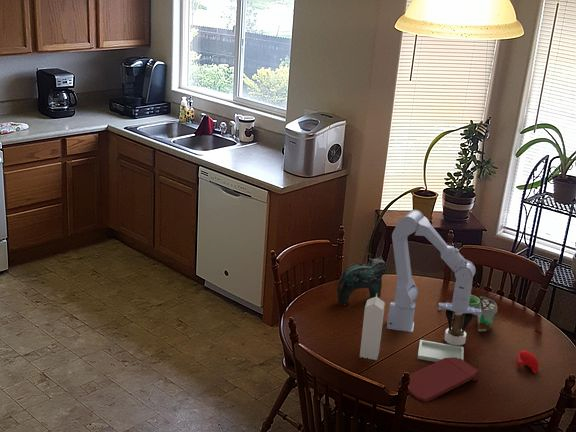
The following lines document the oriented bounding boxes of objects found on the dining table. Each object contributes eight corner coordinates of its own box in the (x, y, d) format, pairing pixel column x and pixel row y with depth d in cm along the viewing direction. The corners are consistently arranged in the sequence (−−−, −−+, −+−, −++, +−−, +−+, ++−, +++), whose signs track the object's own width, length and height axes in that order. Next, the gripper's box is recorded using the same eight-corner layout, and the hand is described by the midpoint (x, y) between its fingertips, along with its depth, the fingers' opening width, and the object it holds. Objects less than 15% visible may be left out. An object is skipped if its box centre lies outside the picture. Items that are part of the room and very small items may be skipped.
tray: (417, 359, 238) (417, 355, 237) (419, 344, 248) (420, 339, 247) (462, 367, 235) (463, 363, 234) (462, 351, 245) (463, 347, 244)
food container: (495, 337, 256) (499, 312, 253) (477, 334, 257) (482, 310, 254) (492, 321, 268) (497, 297, 264) (476, 319, 269) (480, 295, 265)
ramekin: (481, 307, 278) (483, 297, 277) (474, 316, 271) (475, 306, 270) (459, 301, 283) (461, 291, 281) (451, 309, 275) (453, 299, 274)
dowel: (450, 341, 250) (454, 316, 247) (450, 337, 253) (454, 312, 250) (459, 342, 249) (463, 317, 246) (459, 338, 252) (463, 313, 249)
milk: (359, 357, 237) (365, 298, 230) (362, 348, 243) (367, 290, 235) (377, 360, 236) (383, 301, 229) (379, 351, 242) (386, 293, 234)
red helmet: (510, 358, 236) (525, 357, 231) (518, 347, 239) (533, 346, 235) (522, 377, 237) (537, 376, 232) (530, 366, 241) (544, 365, 236)
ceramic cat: (377, 294, 284) (382, 248, 277) (386, 301, 278) (391, 255, 272) (334, 301, 276) (338, 254, 269) (341, 308, 270) (346, 260, 264)
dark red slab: (422, 413, 216) (481, 382, 227) (422, 400, 214) (482, 370, 225) (397, 393, 226) (455, 364, 237) (397, 380, 224) (455, 352, 235)
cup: (444, 344, 249) (445, 335, 248) (444, 334, 256) (446, 326, 254) (464, 347, 247) (466, 339, 246) (464, 338, 254) (466, 329, 253)
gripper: (440, 297, 243) (435, 332, 248) (483, 304, 240) (477, 339, 245) (441, 289, 250) (436, 323, 254) (482, 295, 247) (477, 329, 251)
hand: (456, 330), depth 250 cm, fingers open, 4 cm apart
